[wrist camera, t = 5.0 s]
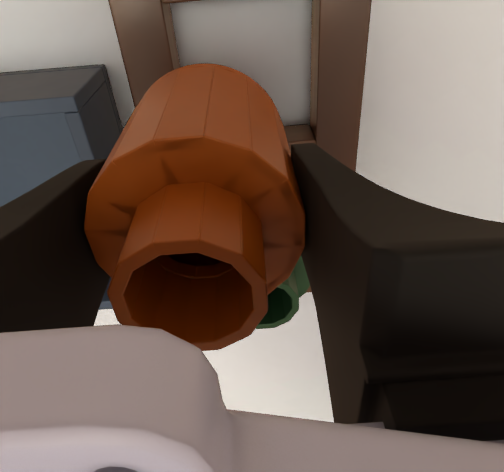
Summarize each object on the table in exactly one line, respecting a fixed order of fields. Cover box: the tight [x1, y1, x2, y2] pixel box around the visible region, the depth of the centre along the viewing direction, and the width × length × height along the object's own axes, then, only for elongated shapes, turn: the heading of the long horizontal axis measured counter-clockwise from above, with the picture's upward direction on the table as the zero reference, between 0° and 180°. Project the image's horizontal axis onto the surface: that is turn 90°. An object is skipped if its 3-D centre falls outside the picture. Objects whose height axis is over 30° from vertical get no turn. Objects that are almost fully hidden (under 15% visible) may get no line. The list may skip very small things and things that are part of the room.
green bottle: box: [256, 256, 310, 329], centre depth 21 cm, size 5×5×8 cm
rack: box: [108, 0, 371, 292], centre depth 20 cm, size 10×18×2 cm, turn 4°
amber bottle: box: [84, 64, 305, 351], centre depth 11 cm, size 5×5×8 cm
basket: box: [0, 64, 123, 310], centre depth 20 cm, size 11×11×4 cm
